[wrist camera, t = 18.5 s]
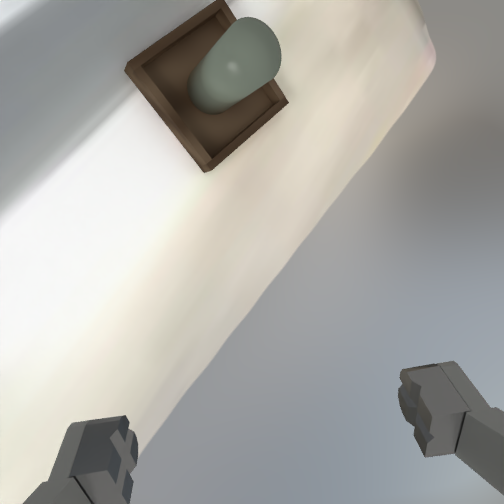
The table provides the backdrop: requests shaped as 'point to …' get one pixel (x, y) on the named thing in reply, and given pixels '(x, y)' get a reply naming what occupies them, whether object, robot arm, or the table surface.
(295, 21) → the table surface
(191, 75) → the sage ceramic canister
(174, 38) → the walnut tray
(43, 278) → the table surface
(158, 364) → the table surface
